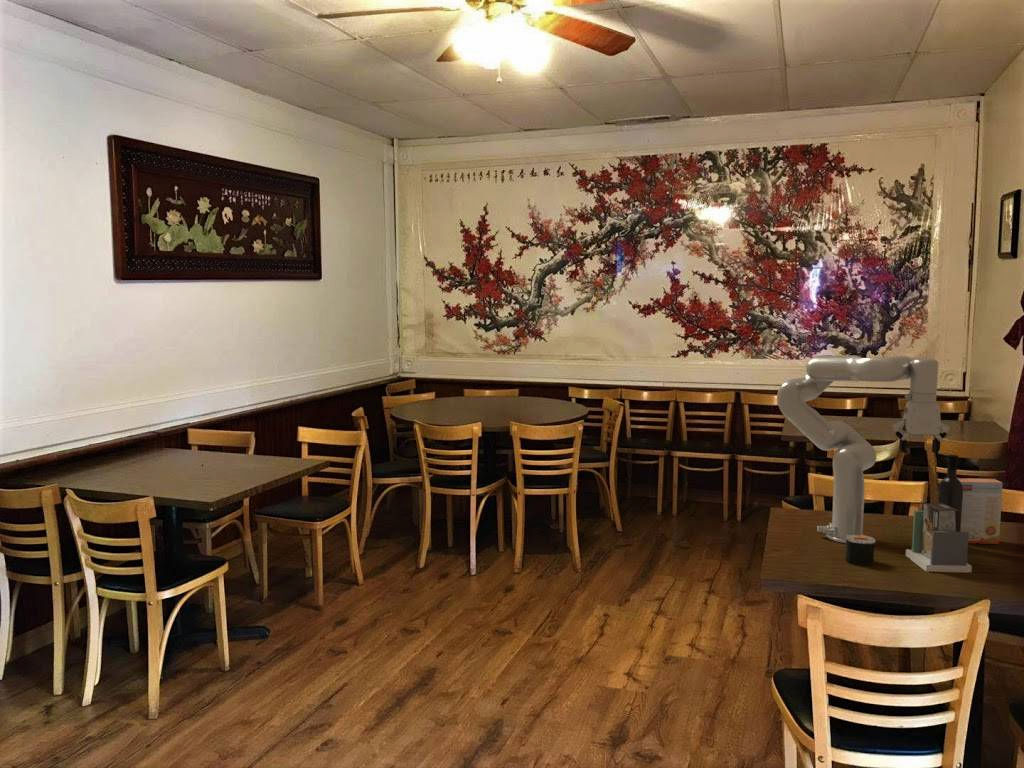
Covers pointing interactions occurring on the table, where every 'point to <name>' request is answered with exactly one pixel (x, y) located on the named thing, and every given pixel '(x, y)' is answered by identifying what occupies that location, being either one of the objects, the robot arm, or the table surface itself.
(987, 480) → the cracker box
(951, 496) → the wine bottle
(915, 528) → the shelf
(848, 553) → the sushi
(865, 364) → the robot arm
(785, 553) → the table surface
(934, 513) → the coffee box
